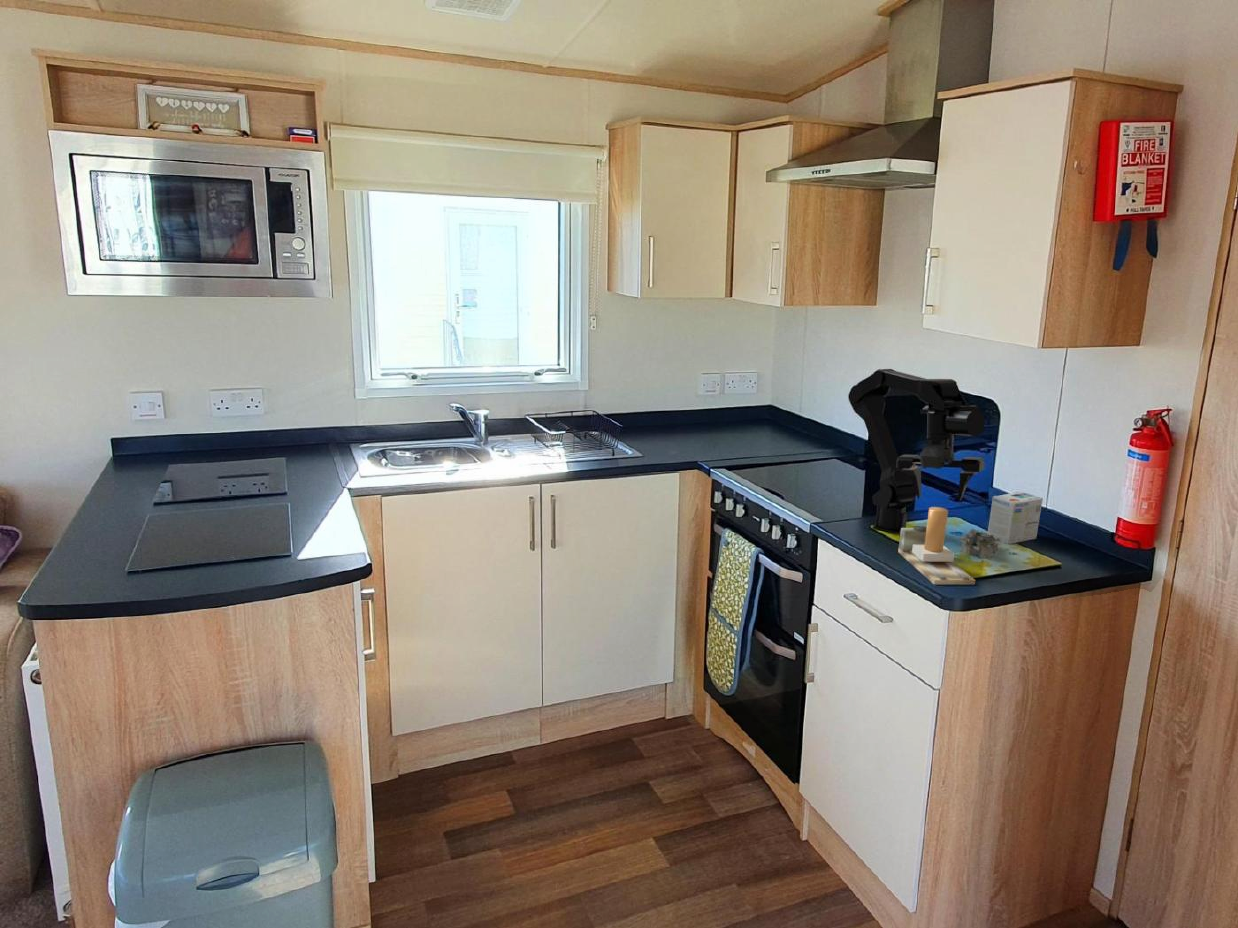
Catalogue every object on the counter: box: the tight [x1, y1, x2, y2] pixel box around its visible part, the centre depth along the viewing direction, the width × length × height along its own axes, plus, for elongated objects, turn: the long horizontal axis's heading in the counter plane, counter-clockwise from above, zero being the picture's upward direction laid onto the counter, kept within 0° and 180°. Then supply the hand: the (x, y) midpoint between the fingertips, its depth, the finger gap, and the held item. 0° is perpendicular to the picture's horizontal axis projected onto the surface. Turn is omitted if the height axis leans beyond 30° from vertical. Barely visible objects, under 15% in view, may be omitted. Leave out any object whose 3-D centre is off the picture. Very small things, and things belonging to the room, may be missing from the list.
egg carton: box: [960, 528, 1001, 559], centre depth 204 cm, size 11×8×4 cm
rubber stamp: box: [912, 506, 955, 562], centre depth 192 cm, size 6×7×11 cm
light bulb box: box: [987, 491, 1043, 545], centre depth 213 cm, size 11×7×11 cm, turn 118°
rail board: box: [897, 525, 976, 585], centre depth 192 cm, size 20×9×6 cm, turn 4°
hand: (939, 499), depth 202 cm, fingers open, 9 cm apart
